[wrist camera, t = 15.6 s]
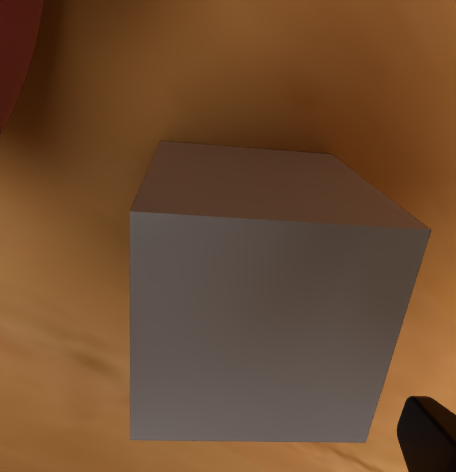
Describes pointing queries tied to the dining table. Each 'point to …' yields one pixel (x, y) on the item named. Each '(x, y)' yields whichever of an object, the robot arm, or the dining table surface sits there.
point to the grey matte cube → (263, 295)
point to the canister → (16, 49)
